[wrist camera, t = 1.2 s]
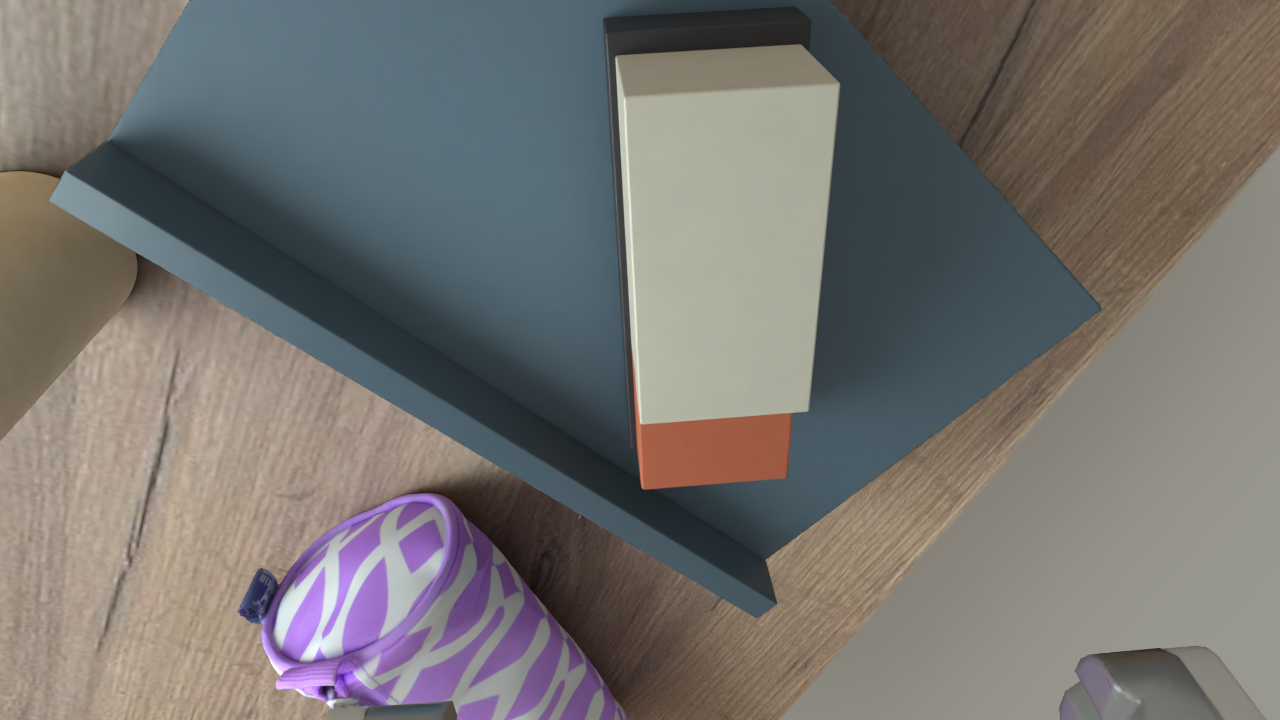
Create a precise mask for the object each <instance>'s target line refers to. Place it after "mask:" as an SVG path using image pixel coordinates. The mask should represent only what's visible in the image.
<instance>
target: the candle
mask: <svg viewBox="0 0 1280 720" xmlns="http://www.w3.org/2000/svg"><path fill="white" fill-rule="evenodd" d="M59 180H60V179H59V178H55V177H52V176H49V175H45V174H40V173H35V172H26V171H11V172H4V173H0V441H1V440H2V439H3V438H4V436H5V435H6V434H7V433H8V432H9V431H10V430H11V429H12V428H13V426H14V425H15V424H16V423H17V422H18V421H19V420H20V419H21V418H22V416H23V415H24V414H25V413H26V412H27V411H28V410H29V409H30V408H31V406H32V405H33V404H34V403H35V402H36V401H37V400H38V399H39V398H40V396H41V395H42V394H43V393H44V392H45V391H46V390H47V389H48V388H49V386H50V385H51V384H52V383H53V382H54V381H55V380H56V379H57V378H58V376H59V375H60V374H61V373H62V372H63V371H64V370H65V369H66V368H67V366H68V365H69V364H70V363H71V362H72V361H73V360H74V359H75V357H76V356H77V355H78V354H79V353H80V352H81V351H82V350H83V349H84V347H85V346H86V345H87V344H88V343H89V342H90V341H91V340H92V339H93V337H94V336H95V335H96V334H97V333H98V332H99V331H100V330H101V329H102V327H103V326H104V325H105V324H106V323H107V322H108V321H109V320H110V319H111V317H112V316H113V315H114V314H115V313H116V312H117V310H118V309H119V308H120V307H121V306H122V304H123V303H124V302H125V301H126V299H127V298H128V297H129V295H130V293H131V291H132V289H133V286H134V284H135V281H136V277H137V258H136V253H135V252H134V251H133V250H131V249H129V248H128V247H126V246H124V245H122V244H121V243H119V242H117V241H116V240H114V239H112V238H111V237H109V236H107V235H106V234H104V233H102V232H100V231H99V230H97V229H95V228H94V227H92V226H90V225H89V224H87V223H85V222H83V221H82V220H80V219H78V218H77V217H75V216H73V215H72V214H70V213H68V212H66V211H65V210H63V209H61V208H60V207H58V206H56V205H55V204H53V203H51V202H50V201H49V198H50V196H51V194H52V192H53V191H54V189H55V187H56V185H57V184H58V182H59Z"/></svg>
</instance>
